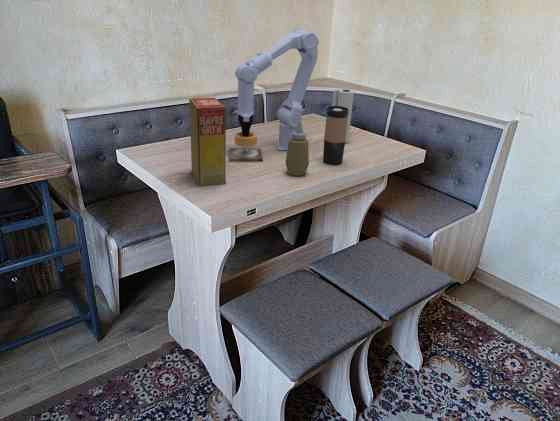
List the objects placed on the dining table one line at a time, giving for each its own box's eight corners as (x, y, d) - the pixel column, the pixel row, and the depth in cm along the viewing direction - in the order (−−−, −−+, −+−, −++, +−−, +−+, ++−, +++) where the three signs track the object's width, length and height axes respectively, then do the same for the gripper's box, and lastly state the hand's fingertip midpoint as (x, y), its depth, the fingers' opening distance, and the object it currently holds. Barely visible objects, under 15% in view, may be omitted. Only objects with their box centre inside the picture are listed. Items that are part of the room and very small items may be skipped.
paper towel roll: (350, 141, 193) (356, 90, 183) (344, 145, 188) (350, 92, 179) (335, 138, 196) (340, 87, 186) (328, 141, 191) (333, 90, 182)
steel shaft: (248, 152, 172) (248, 139, 170) (249, 154, 170) (249, 141, 168) (242, 152, 172) (242, 139, 170) (242, 154, 170) (242, 141, 168)
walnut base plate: (260, 150, 178) (260, 147, 177) (262, 161, 167) (262, 158, 166) (229, 150, 176) (229, 147, 176) (229, 161, 166) (229, 158, 165)
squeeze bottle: (300, 179, 154) (304, 127, 145) (280, 173, 157) (282, 122, 149) (312, 172, 160) (316, 121, 152) (292, 167, 163) (295, 117, 155)
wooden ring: (255, 139, 174) (255, 131, 172) (257, 146, 167) (257, 138, 165) (234, 139, 173) (234, 131, 171) (235, 146, 166) (235, 138, 164)
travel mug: (344, 160, 172) (350, 107, 163) (340, 167, 166) (346, 112, 157) (325, 157, 174) (329, 104, 165) (319, 163, 168) (324, 109, 159)
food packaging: (227, 183, 148) (226, 106, 136) (198, 186, 145) (195, 108, 133) (217, 169, 159) (216, 96, 148) (190, 171, 156) (186, 97, 144)
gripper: (234, 94, 172) (234, 129, 178) (234, 103, 159) (235, 141, 165) (253, 94, 172) (252, 129, 178) (255, 104, 159) (254, 141, 166)
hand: (245, 135), depth 172 cm, fingers closed on wooden ring
